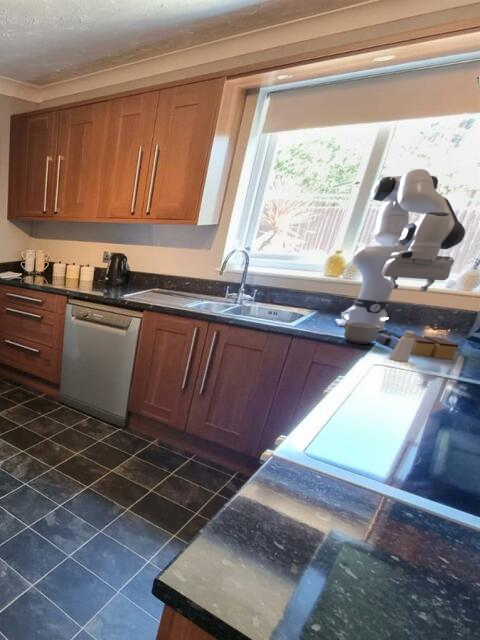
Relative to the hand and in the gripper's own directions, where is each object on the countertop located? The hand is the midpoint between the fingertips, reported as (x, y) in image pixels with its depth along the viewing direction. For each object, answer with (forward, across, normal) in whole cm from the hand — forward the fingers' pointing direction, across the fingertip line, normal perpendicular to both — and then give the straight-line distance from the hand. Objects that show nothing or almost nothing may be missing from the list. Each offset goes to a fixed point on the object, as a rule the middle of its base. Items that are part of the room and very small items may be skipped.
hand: (408, 289), depth 175 cm
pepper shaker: (+25, +7, +27) cm, 37 cm away
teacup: (+24, +12, +1) cm, 26 cm away
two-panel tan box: (+24, -8, +9) cm, 27 cm away
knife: (+24, +1, +5) cm, 24 cm away
